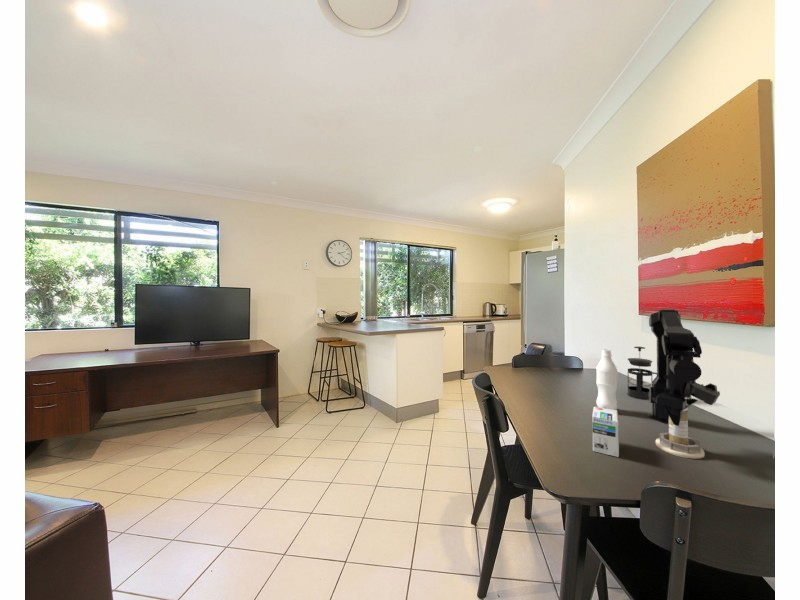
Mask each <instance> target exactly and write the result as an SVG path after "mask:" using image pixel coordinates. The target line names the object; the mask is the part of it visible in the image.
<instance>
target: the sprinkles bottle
mask: <svg viewBox="0 0 800 600" xmlns="http://www.w3.org/2000/svg"><path fill="white" fill-rule="evenodd" d="M686 405H687V406H688V404H686ZM687 410H688V407H687V408H686V409H684V410H683V411H682V415H681V420H680V424H679V426H677V425H674V424H673V422H672V420H671V418H670V416H669V423H668V433H669V441H671V442H674V443H678V444H683V445H688V437H689V422H688V421H689V420H688V412H689V410H688V411H687Z"/></svg>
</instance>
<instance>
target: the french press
mask: <svg viewBox="0 0 800 600" xmlns="http://www.w3.org/2000/svg"><path fill="white" fill-rule="evenodd" d="M633 347H634V349H638V350H637V351H638V355H639V356H638V358H637V357H634V358H632V357H631V358H627V361H628V362H629V364H630V365H632V366H635V367H638V368H635V367H630V368H627V396H629V397H630V398H633V399H637V400H646V401H647V400H648V401H649V389H650V388H648V387H652V381H653V375H657V372H655V371H652V370H649V369H646V367H648V368H650V367H652V363H653V360H651V359H648V358H642V357H641V351H642V349H644V350H645V349H646V347H644V346H633ZM642 367H643V368H642ZM644 367H645V368H644ZM629 374H630V375H634V376H636V379H631V380H630V378H629V376H630V375H629ZM650 376H651V380H650V381H651V382H649V381H645V380H644V378H643V377H650ZM630 384H631V385H632V386H631V385H630Z"/></svg>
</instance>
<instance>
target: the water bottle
mask: <svg viewBox="0 0 800 600" xmlns="http://www.w3.org/2000/svg"><path fill="white" fill-rule="evenodd" d="M612 356H613V355H612V350H611V349H607V348H604V349H603V348H602V349H601V358H600V360H599V362H598V364H597V365H596V366H595V367H596V369H595V370H596V383H595V384H596V386H597V387H596V388H597V391H598V392H597V393H598V394H597V398H596V401H595V403H596V407H600V408H605V409H611V410H617V409H618V405H619V404H618V402H617V397H616V395H617V388H618V369H617V366H616V364H615V362H614V361H613V359H612ZM617 411H618V410H617Z"/></svg>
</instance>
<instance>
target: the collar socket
mask: <svg viewBox="0 0 800 600" xmlns="http://www.w3.org/2000/svg"><path fill="white" fill-rule="evenodd" d="M655 445H656V447H657V448H658V449H660V450H662V451H663V452H666V453H667V454H670V455H674V456H676V457H681V458H686V459H694V460H698V459H699V460H701V459H703V458H705V455H706V454H705V450H704V449H703V448H702V447H701V443H700V441H698V440H696V439H694V438H692V437H690V436H688V445H683V444H678V443H674V442H671V441H669V432H659V437H657V438H656V439H655Z"/></svg>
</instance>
